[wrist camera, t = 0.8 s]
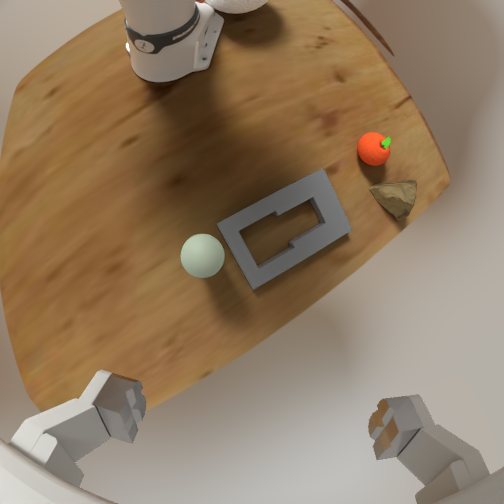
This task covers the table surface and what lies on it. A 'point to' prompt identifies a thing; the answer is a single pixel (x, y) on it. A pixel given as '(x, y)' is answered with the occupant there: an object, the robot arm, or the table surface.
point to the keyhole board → (301, 246)
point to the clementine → (374, 148)
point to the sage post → (202, 255)
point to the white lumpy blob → (236, 5)
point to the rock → (396, 196)
